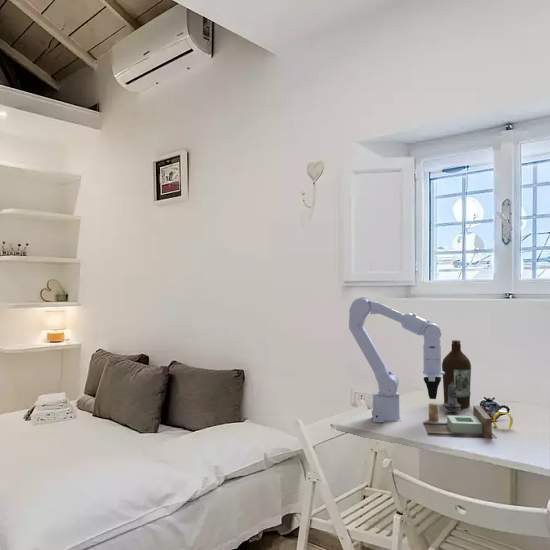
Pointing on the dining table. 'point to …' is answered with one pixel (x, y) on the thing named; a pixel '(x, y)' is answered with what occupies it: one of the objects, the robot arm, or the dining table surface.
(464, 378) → the olive oil
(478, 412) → the walnut board
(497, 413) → the watch
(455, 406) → the salt shaker
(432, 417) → the oak dowel
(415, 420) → the dining table surface
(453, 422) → the sage socket block
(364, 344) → the robot arm
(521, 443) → the dining table surface
